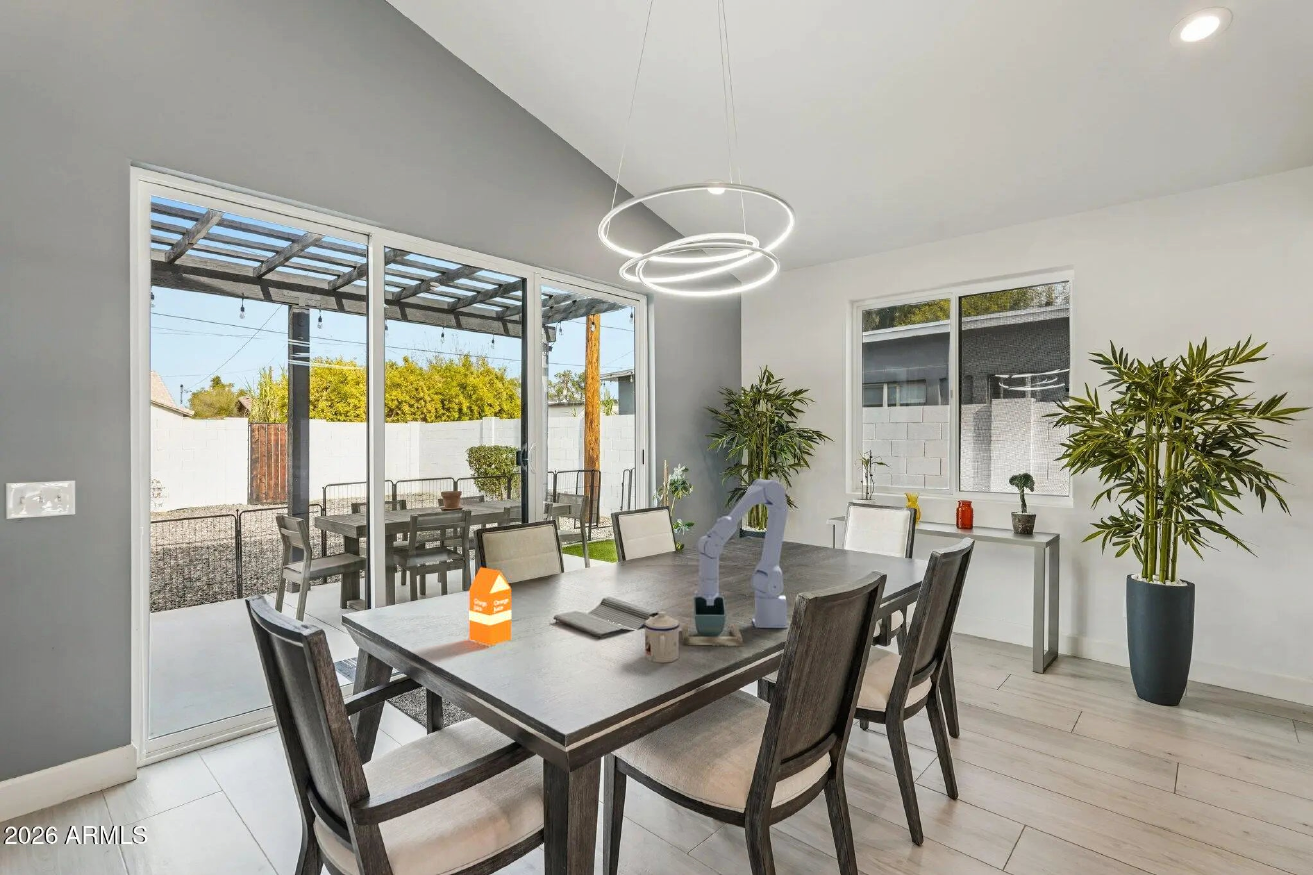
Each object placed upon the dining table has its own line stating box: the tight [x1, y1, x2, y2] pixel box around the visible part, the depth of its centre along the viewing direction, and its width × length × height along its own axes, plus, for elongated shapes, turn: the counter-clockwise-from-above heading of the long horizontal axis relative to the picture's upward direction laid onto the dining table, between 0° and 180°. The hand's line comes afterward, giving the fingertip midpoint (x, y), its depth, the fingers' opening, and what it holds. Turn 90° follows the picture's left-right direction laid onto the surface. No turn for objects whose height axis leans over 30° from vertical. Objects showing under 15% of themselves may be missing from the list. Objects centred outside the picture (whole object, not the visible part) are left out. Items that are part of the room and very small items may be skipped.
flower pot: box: [693, 596, 727, 637], centre depth 177 cm, size 9×9×9 cm
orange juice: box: [468, 567, 512, 645], centre depth 173 cm, size 8×9×20 cm
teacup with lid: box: [643, 611, 680, 664], centre depth 159 cm, size 12×9×12 cm
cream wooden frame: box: [681, 623, 743, 647], centre depth 176 cm, size 16×14×2 cm
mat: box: [553, 596, 658, 640], centre depth 190 cm, size 23×24×5 cm
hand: (707, 623), depth 182 cm, fingers closed
